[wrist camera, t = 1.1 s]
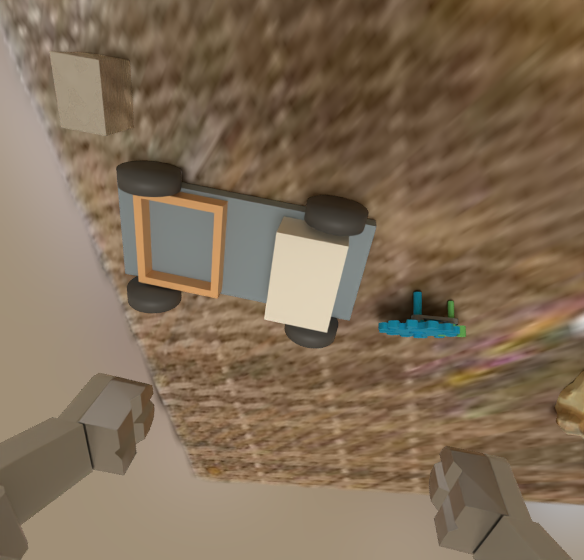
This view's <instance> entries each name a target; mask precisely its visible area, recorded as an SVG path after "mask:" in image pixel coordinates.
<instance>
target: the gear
mask: <svg viewBox="0 0 584 560" xmlns="http://www.w3.org/2000/svg"><path fill="white" fill-rule="evenodd" d="M424 321H426V322H424ZM439 322H442V323H443V324H439ZM455 325H458V319H456V318H454V301H448V318H447V317H437V316H427V315H422V292H414V315H411V320H406V323H399V321H398V320H391V321H388V323H386V322H382V323H379V332H381V333H387V334H388V335H400V336H402V337H410V336H413V337H414V338H427V336H434V337H435V338H444V336H449V337H453V336H458V337H466V326H455Z"/></svg>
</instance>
